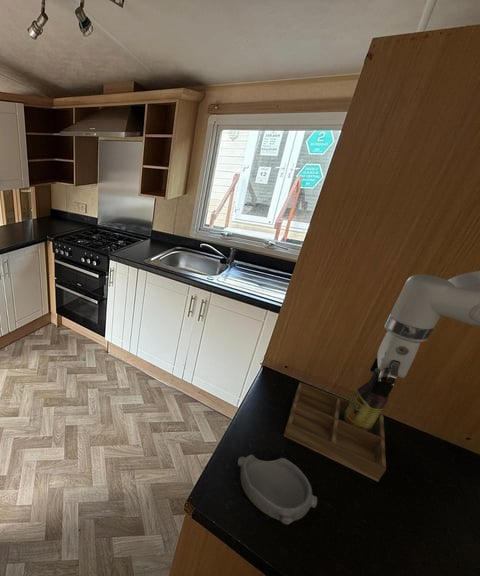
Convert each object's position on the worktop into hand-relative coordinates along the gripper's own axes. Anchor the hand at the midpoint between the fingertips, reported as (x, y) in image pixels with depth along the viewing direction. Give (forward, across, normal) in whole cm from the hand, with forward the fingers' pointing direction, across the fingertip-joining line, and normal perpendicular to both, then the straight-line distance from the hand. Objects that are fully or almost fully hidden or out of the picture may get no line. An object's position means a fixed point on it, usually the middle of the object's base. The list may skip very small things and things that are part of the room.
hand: (377, 383), depth 80 cm
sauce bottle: (+16, 0, 0) cm, 16 cm away
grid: (+17, -5, +5) cm, 18 cm away
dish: (+17, -33, +14) cm, 40 cm away
